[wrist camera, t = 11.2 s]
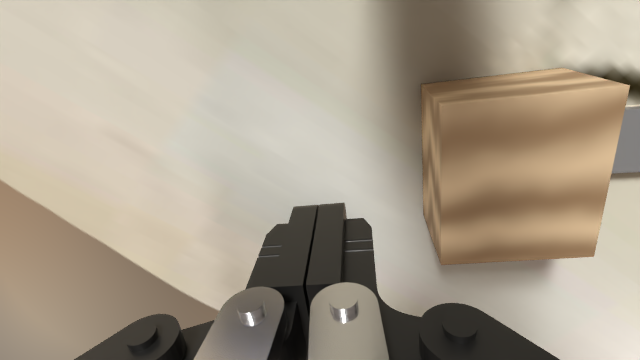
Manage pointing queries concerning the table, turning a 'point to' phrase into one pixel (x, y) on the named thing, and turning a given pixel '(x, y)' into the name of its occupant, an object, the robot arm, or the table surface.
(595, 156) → the oak block
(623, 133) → the coaster
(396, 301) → the table surface
